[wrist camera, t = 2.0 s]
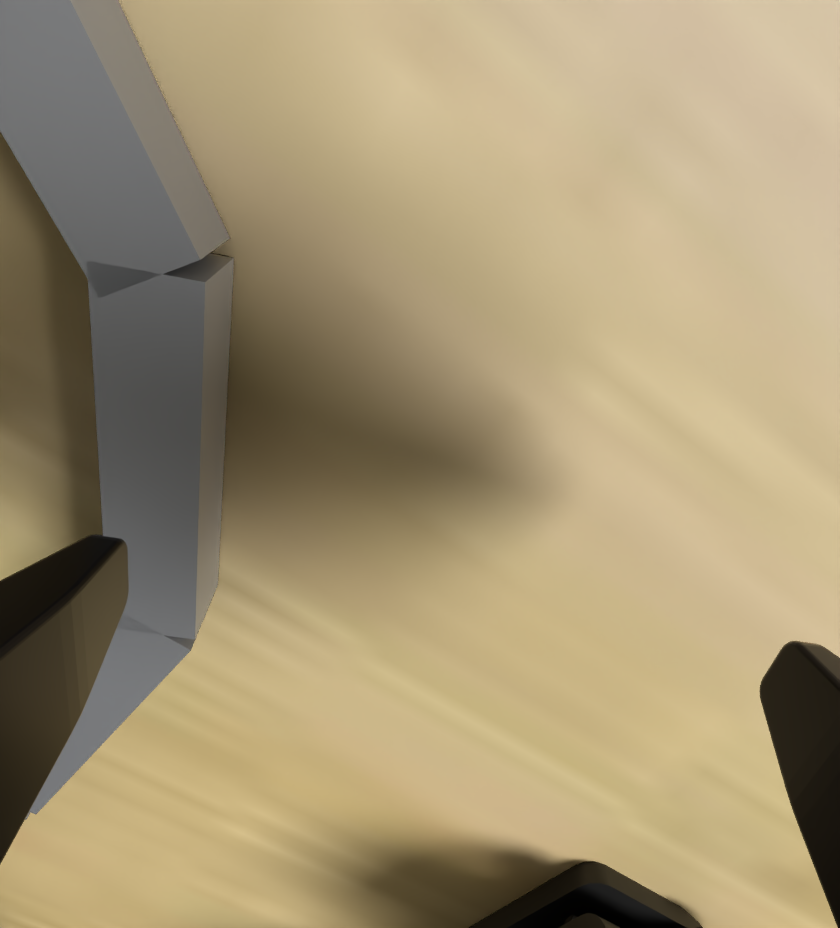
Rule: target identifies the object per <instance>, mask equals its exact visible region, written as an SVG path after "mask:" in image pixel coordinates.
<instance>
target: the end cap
mask: <svg viewBox="0 0 840 928" xmlns="http://www.w3.org/2000/svg"><path fill="white" fill-rule="evenodd" d="M469 928H703V927H702V926H701V925H700V923H699V922H698V921H696V920H695V919H694V918H693V917H692V916H691V915H689V914H688V913H687V912H686V911H685V910H684V909H682V908H681V907H680V906H678V905H676V904H674V903H673V902H671V901H669V900H667V899H665V898H664V897H662V896H660V895H658V894H657V893H655V892H653V891H651V890H649V889H648V888H646V887H644V886H642V885H640V884H639V883H637V882H635V881H633V880H631V879H630V878H628V877H626V876H624V875H622V874H621V873H619V872H617V871H615V870H613V869H612V868H610V867H608V866H606V865H604V864H601V863H597V862H584V863H581V864H578V865H575V866H573V867H572V868H570V869H568V870H567V871H565V872H563V873H561V874H560V875H558V876H556V877H555V878H553V879H551V880H549V881H548V882H546V883H544V884H543V885H541V886H539V887H537V888H536V889H534V890H532V891H531V892H529V893H527V894H526V895H524V896H522V897H520V898H519V899H517V900H515V901H514V902H512V903H510V904H508V905H507V906H505V907H503V908H502V909H500V910H498V911H496V912H495V913H493V914H491V915H490V916H488V917H486V918H484V919H483V920H481V921H479V922H478V923H476V924H474V925H472V926H471V927H469Z"/></svg>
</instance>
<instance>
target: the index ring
mask: <svg viewBox="0 0 840 928" xmlns="http://www.w3.org/2000/svg"><path fill="white" fill-rule="evenodd" d="M0 132H1V133H2V135H3V137H4V138H5V140H6V142H7V143H8V145H9V147H10V149H11V150H12V152H13V154H14V155H15V157H16V159H17V160H18V162H19V164H20V165H21V167H22V169H23V171H24V172H25V174H26V176H27V177H28V179H29V181H30V182H31V184H32V186H33V187H34V189H35V191H36V192H37V194H38V196H39V198H40V199H41V201H42V203H43V204H44V206H45V208H46V209H47V211H48V213H49V214H50V216H51V218H52V220H53V221H54V223H55V225H56V226H57V228H58V230H59V231H60V233H61V235H62V236H63V238H64V240H65V241H66V243H67V245H68V247H69V248H70V250H71V252H72V253H73V255H74V257H75V258H76V260H77V262H78V263H79V265H80V267H81V269H82V270H83V272H84V274H85V275H86V277H87V279H88V290H89V307H90V324H91V341H92V358H93V375H94V392H95V409H96V426H97V443H98V460H99V477H100V494H101V511H102V528H103V536H108V537H115V538H121V539H122V540H124V541H125V542H126V545H127V549H128V577H129V593H128V599H127V603H126V606H125V609H124V611H123V614H122V616H121V619H120V621H119V624H118V626H117V629H116V631H115V634H114V636H113V639H112V641H111V643H110V646H109V648H108V651H107V653H106V656H105V658H104V661H103V663H102V666H101V668H100V671H99V673H98V675H97V678H96V680H95V683H94V685H93V688H92V690H91V693H90V695H89V698H88V700H87V702H86V705H85V707H84V709H83V712H82V714H81V716H80V718H79V720H78V722H77V724H76V726H75V728H74V730H73V732H72V734H71V736H70V737H69V739H68V741H67V743H66V745H65V747H64V748H63V750H62V752H61V754H60V756H59V758H58V759H57V761H56V763H55V765H54V767H53V769H52V770H51V772H50V774H49V776H48V778H47V780H46V781H45V783H44V785H43V787H42V789H41V791H40V792H39V794H38V796H37V798H36V800H35V802H34V803H33V805H32V807H31V809H30V811H29V813H28V814H27V816H26V818H25V819H27V818H28V816H29V814H30V812H31V813H34V814H37V813H38V812H39V811H40V810H41V809H42V807H43V806H44V805H45V804H46V803H47V802H48V801H49V800H50V799H51V798H52V797H53V796H54V795H55V794H56V793H57V792H58V790H59V789H60V788H61V787H62V786H63V785H64V784H65V783H66V782H67V781H68V780H69V779H70V778H71V777H72V776H73V775H74V774H75V772H76V771H77V770H78V769H79V768H80V767H81V766H82V765H83V764H84V763H85V762H86V761H87V760H88V759H89V758H90V757H91V756H92V754H93V753H94V752H95V751H96V750H97V749H98V748H99V747H100V746H101V745H102V744H103V743H104V742H105V741H106V740H107V739H108V737H109V736H110V735H111V734H112V733H113V732H114V731H115V730H116V729H117V728H118V727H119V726H120V725H121V724H122V723H123V722H124V721H125V719H126V718H127V717H128V716H129V715H130V714H131V713H132V712H133V711H134V710H135V709H136V708H137V707H138V706H139V705H140V704H141V702H142V701H143V700H144V699H145V698H146V697H147V696H148V695H149V694H150V693H151V692H152V691H153V690H154V689H155V688H156V687H157V686H158V684H159V683H160V682H161V681H162V680H163V679H164V678H165V677H166V676H167V675H168V674H169V673H170V672H171V671H172V670H173V669H174V668H175V666H176V665H177V664H178V663H179V662H180V661H181V660H182V659H183V658H184V657H185V656H186V655H187V654H188V653H189V652H190V651H191V648H192V646H193V644H194V641H195V639H196V636H197V634H198V632H199V629H200V627H201V624H202V622H203V620H204V617H205V615H206V612H207V610H208V608H209V605H210V603H211V600H212V598H213V596H214V593H215V590H216V588H217V586H218V573H219V553H220V533H221V512H222V492H223V472H224V451H225V431H226V411H227V391H228V370H229V350H230V330H231V309H232V289H233V269H234V258H232V257H227V256H221V255H216V254H211V253H210V252H212V251H213V250H214V249H216V248H217V247H219V246H220V245H221V244H223V243H224V242H225V241H227V240H228V239H230V237H229V234H228V232H227V230H226V228H225V226H224V224H223V222H222V220H221V218H220V215H219V213H218V211H217V209H216V207H215V205H214V203H213V201H212V198H211V196H210V194H209V192H208V190H207V188H206V186H205V184H204V181H203V179H202V177H201V175H200V173H199V171H198V169H197V167H196V164H195V162H194V160H193V158H192V156H191V154H190V152H189V150H188V148H187V145H186V143H185V141H184V139H183V137H182V135H181V133H180V131H179V128H178V126H177V124H176V122H175V120H174V118H173V116H172V114H171V111H170V109H169V107H168V105H167V103H166V101H165V99H164V97H163V94H162V92H161V90H160V88H159V86H158V84H157V82H156V80H155V78H154V75H153V73H152V71H151V69H150V67H149V65H148V63H147V61H146V58H145V56H144V54H143V52H142V50H141V48H140V46H139V44H138V41H137V39H136V37H135V35H134V33H133V31H132V29H131V27H130V24H129V22H128V20H127V18H126V16H125V14H124V12H123V10H122V8H121V5H120V3H119V1H118V0H0Z"/></svg>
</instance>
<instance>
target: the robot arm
mask: <svg viewBox="0 0 840 928" xmlns="http://www.w3.org/2000/svg"><path fill="white" fill-rule="evenodd" d="M128 593H129V577H128V549H127V545H126V542H125V541H124V540H122V539H121V538H115V537H108V536H102V535H89V536H87V537H85V538H83V539H81V540H79V541H77V542H75V543H73V544H71V545H69V546H67V547H65V548H63V549H61V550H59V551H57V552H55V553H53V554H52V555H50V556H48V557H46V558H44V559H42V560H40V561H38V562H36V563H34V564H32V565H30V566H28V567H26V568H24V569H22V570H20V571H18V572H16V573H14V574H13V575H11V576H9V577H7V578H5V579H3V580H1V581H0V864H1V862H2V860H3V858H4V857H5V855H6V853H7V851H8V849H9V847H10V846H11V844H12V842H13V840H14V838H15V836H16V835H17V833H18V831H19V829H20V827H21V825H22V824H23V822H24V820H25V818H26V816H27V814H28V813H29V811H30V809H31V807H32V805H33V803H34V802H35V800H36V798H37V796H38V794H39V792H40V791H41V789H42V787H43V785H44V783H45V781H46V780H47V778H48V776H49V774H50V772H51V770H52V769H53V767H54V765H55V763H56V761H57V759H58V758H59V756H60V754H61V752H62V750H63V748H64V747H65V745H66V743H67V741H68V739H69V737H70V736H71V734H72V732H73V730H74V728H75V726H76V724H77V722H78V720H79V718H80V716H81V714H82V712H83V709H84V707H85V705H86V702H87V700H88V698H89V695H90V693H91V690H92V688H93V685H94V683H95V680H96V678H97V675H98V673H99V671H100V668H101V666H102V663H103V661H104V658H105V656H106V653H107V651H108V648H109V646H110V643H111V641H112V639H113V636H114V634H115V631H116V629H117V626H118V624H119V621H120V619H121V616H122V614H123V611H124V609H125V606H126V603H127V599H128ZM760 699H761V703H762V706H763V710H764V713H765V717H766V720H767V724H768V727H769V731H770V734H771V738H772V741H773V745H774V749H775V752H776V756H777V759H778V763H779V766H780V770H781V773H782V777H783V780H784V784H785V787H786V791H787V794H788V797H789V800H790V803H791V806H792V809H793V812H794V815H795V818H796V820H797V823H798V826H799V828H800V831H801V833H802V836H803V839H804V841H805V844H806V846H807V849H808V852H809V854H810V857H811V859H812V862H813V864H814V867H815V870H816V872H817V875H818V877H819V880H820V883H821V885H822V888H823V890H824V893H825V895H826V898H827V901H828V903H829V906H830V908H831V911H832V914H833V916H834V919H835V921H836V924H837V926H838V928H840V658H839V657H838V656H836V655H835V654H833V653H832V652H831V651H829V650H828V649H826V648H825V647H823V646H821V645H818V644H813V643H807V642H800V641H790V642H788V643H787V644H785V645H784V646H783V647H782V649H781V650H780V652H779V654H778V655H777V657H776V658H775V660H774V662H773V663H772V665H771V666H770V668H769V669H768V671H767V673H766V674H765V676H764V677H763V679H762V681H761V685H760Z"/></svg>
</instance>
